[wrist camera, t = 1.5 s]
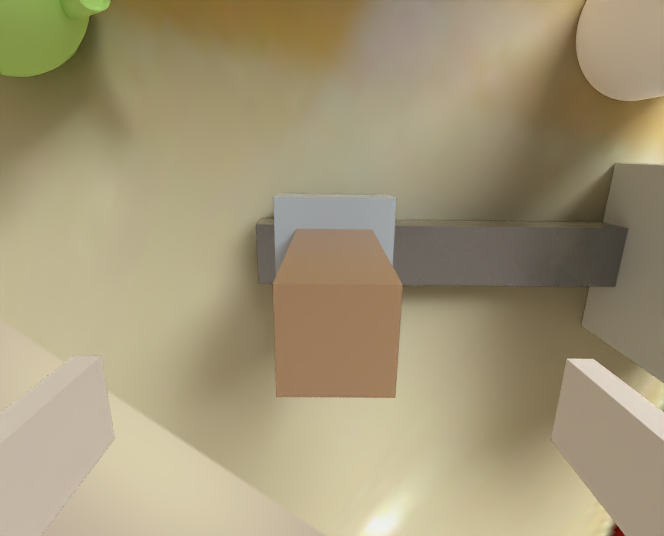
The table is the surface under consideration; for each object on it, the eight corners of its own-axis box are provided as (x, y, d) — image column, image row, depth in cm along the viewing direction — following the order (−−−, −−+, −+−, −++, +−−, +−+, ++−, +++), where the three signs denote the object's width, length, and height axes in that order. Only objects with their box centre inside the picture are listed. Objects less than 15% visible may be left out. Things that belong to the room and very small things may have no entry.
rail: (262, 218, 28) (256, 224, 25) (602, 221, 28) (628, 228, 25) (264, 272, 29) (258, 283, 26) (591, 275, 29) (615, 286, 27)
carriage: (281, 190, 26) (231, 231, 13) (387, 192, 26) (446, 233, 13) (284, 303, 28) (243, 437, 15) (381, 304, 28) (426, 438, 15)
